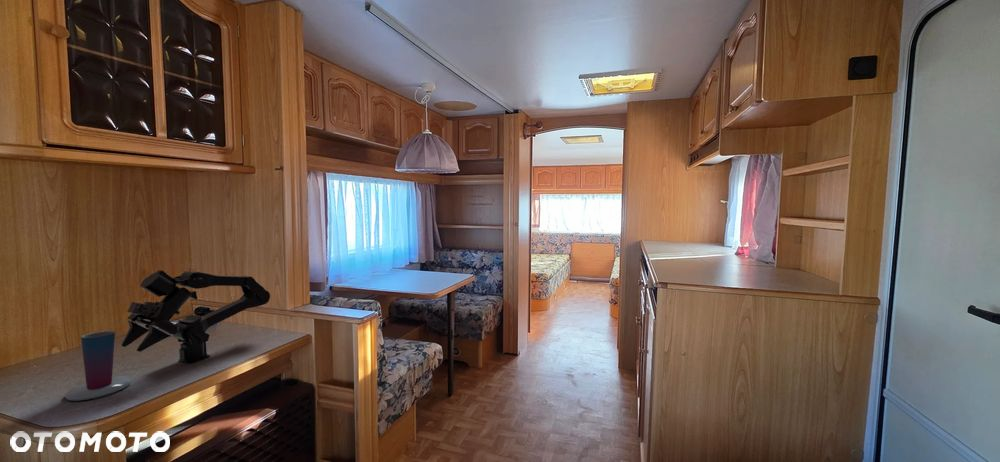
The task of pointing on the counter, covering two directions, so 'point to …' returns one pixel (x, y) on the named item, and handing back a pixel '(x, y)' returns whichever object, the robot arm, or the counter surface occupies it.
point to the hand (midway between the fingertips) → (130, 348)
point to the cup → (98, 358)
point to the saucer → (85, 394)
